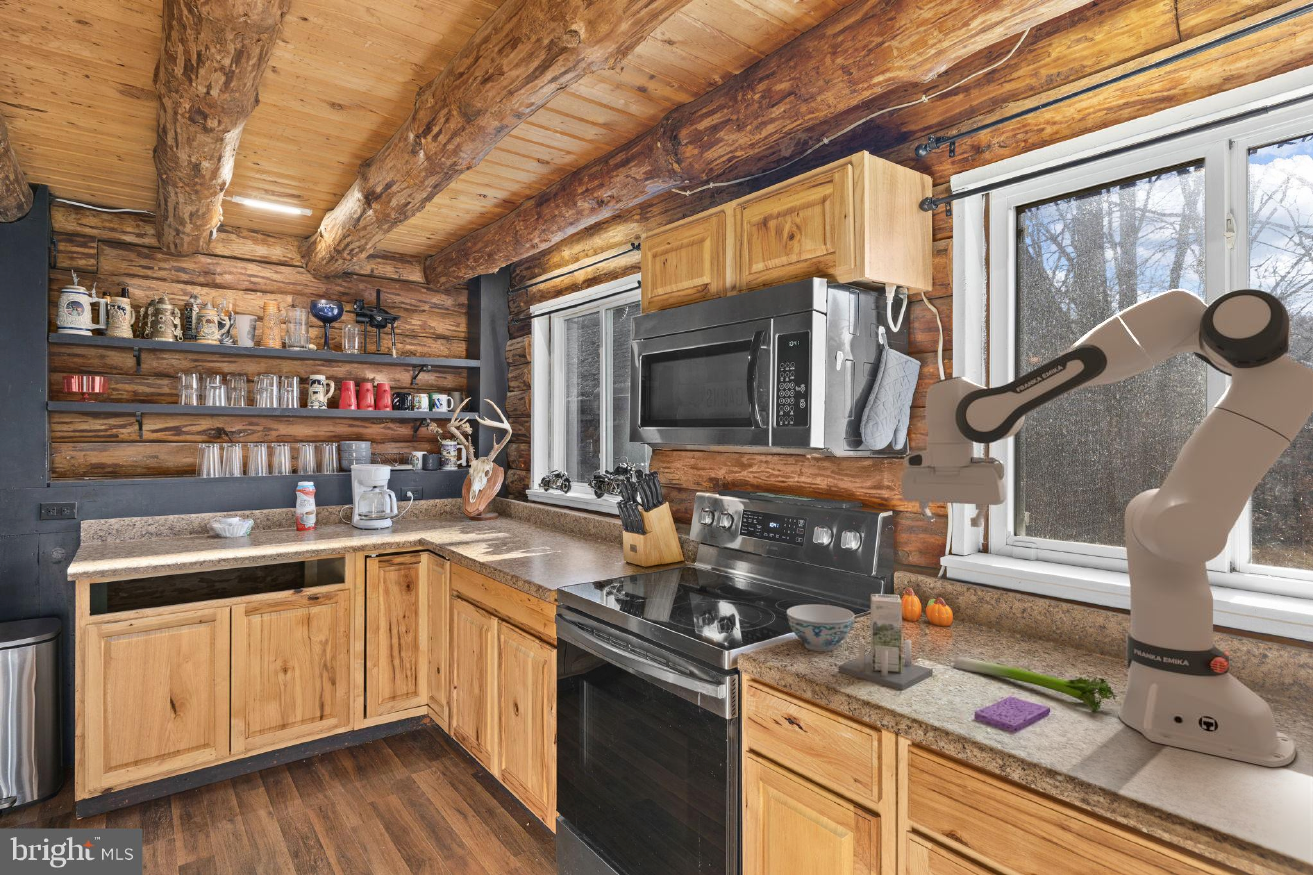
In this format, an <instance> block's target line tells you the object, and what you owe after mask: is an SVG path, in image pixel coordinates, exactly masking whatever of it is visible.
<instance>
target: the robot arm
mask: <svg viewBox="0 0 1313 875" xmlns="http://www.w3.org/2000/svg"><path fill="white" fill-rule="evenodd" d="M1289 316H1290V315H1289V314H1288V311H1287V308H1286V306H1285V305H1284V304H1283V303H1282V301H1281V300H1279V299H1278V298H1277V297H1276V296H1275V295H1274V294H1271V293H1270V292H1266V291H1263V290H1260V289H1255V288H1254V289H1253V288H1242V289H1237V290H1232V291H1229V292H1226V293H1224V294H1222V295H1220V296H1219V297H1217V298H1215V299H1214V300H1213V301H1212V302H1211V303H1210V304H1206V303H1205V302H1204V301H1203V299H1201V297H1200V296H1198V295H1197V294H1195V293H1193V292H1192V291H1189V290H1186V289H1183V288H1176V289H1175V288H1174V289H1170V290H1168V291H1164V292H1161V293H1159V294H1156V295H1155V296H1152V297H1148V298H1147V299H1145V300H1142V301H1140V302H1138V303H1135V304H1134V305H1131V306H1129V307H1128V308H1126V309H1124V310H1122V311H1120V312H1119V313H1116V314H1115V315H1113V316H1111V317H1110V318H1108V319H1106V320H1105V321H1103V322H1102V323H1100V324H1098V325H1097V326H1096V327H1094V328H1093V329H1091V330H1090V331H1089V332H1087V333H1086V334H1085V335H1083V336H1082V337H1080V339H1079V340H1077V341H1076V342H1075V343H1073V344H1072V345H1071V346H1070V347H1068V348H1067V349H1065V350H1064V351H1062V352H1061V354H1059V355H1058V356H1056V357H1054V358H1053V359H1051V360H1050V361H1048V362H1045V363H1044V364H1043V365H1040V366H1039V367H1036V368H1035V369H1033V370H1030V371H1029V372H1027V373H1025V374H1024V375H1022V376H1020V377H1018V378H1016V379H1014V380H1012V381H1010V382H1008V383H1006V384H1003V385H1000V386H996V387H995V386H994V387H986V386H983V385H981V384H978V383H975V382H974V381H971V380H970V379H969V378H967V377H965V376H954V377H948V378H944V379H940V380H937V381H935V382H933V383H932V384H931V385H930V386H929V387H928V389H927V392H926V398H925V424H926V427H927V431H928V433H927V438H926V449H924V450H922V451H919V452H916V453H913V454H910V455H907V456H905V457H904V459H903V464H904V466H905V467H906V468H904V470H903V471H902V474H901V485H900V486H901V497H902V498H903V499H904V501H905V502H914V503H915V502H916V503H918V508H919V509H920V511H921V512H922V514H923V516H924V523H925V524H926V525H934V524H936V514H932V513H931V511H930V509H929V507H931V503H937V504H938V503H939V504H940V503H941V504H942V503H943V504H960V505H961V504H962V505H964V504H965V505H975V510H976V511H977V510H978V511H977V513H976V515H975V516H974V517H970V526H971V528H981V527H982V524H983V523H982V522H983V521H982V518H983V517H984V515H985V513H986V512H987V510H988V506H997V505H998V506H999V505H1003V503H1004V502H1005V501H1006V500H1007V495H1006V494H1007V493H1006V492H1007V491H1006V487H1005V479H1004V477H1005V466H1004V463H1003V462H1002V461H1001V460H999V459H997V457H993V456H992V457H989V456H988V457H981V456H980V457H975V452H974V450H975V449H974V446H975V445H974V443H976V444H983V445H985V444H987V445H988V444H991V443H995V442H997V441H1002V440H1006V439H1008V438H1011V437H1013V436H1015V435H1016V434H1017V433H1018V432H1019V431H1020V430H1021V429H1022V427H1023V426H1024V425H1025V421H1026V414H1027V415H1028V413H1030V412H1032V411H1034V410H1036V409H1039V408H1040V407H1042V406H1044V405H1046V404H1048V403H1050V402H1052V401H1054V400H1056V399H1058V398H1060V397H1061V396H1063V395H1065V394H1068V393H1070V392H1073V391H1076V390H1079V389H1082V388H1083V389H1084V388H1087V387H1094V386H1101V385H1109V384H1114V383H1117V382H1120V381H1123V380H1126V379H1129V378H1131V377H1134V376H1137V375H1139V374H1141V373H1143V372H1145V371H1147V370H1150V369H1152V368H1153V367H1156V366H1158V364H1161V363H1163V362H1164V361H1166V360H1168V359H1170V358H1172V357H1175V356H1178V355H1179V354H1180V355H1181V354H1183V353H1190V352H1191V353H1193V355H1194V356H1195V357H1196V358H1198V359H1199V360H1201V361H1202V362H1204V363H1206V364H1207V365H1209V366H1210V367H1211V368H1213V369H1214V370H1216V371H1217V372H1219V373H1222V374H1223V375H1226V376H1229V377H1231V380H1230V382H1229V385H1228V387H1227V388H1226V390H1225V391H1224V393H1223V395H1222V396H1221V397H1220V399H1219V400H1218V401H1217V402H1216V404H1215V405H1214V406H1213V407H1212V408H1211V409H1210V411H1209V412H1208V413H1207V415H1206V416H1205V417H1204V419H1202V421H1201V423H1199V425H1198V426H1197V428H1196V429H1195V430H1194V432H1193V433H1192V434H1191V435H1190V437H1189V438H1188V439H1187V440H1186V442H1185V443H1184V445H1183V446H1182V447H1181V449H1180V451H1179V454H1178V456H1177V459H1176V460H1175V462H1174V464H1173V466H1172V467H1171V470H1169V472H1168V475H1167V477H1166V478H1165V480H1164V482H1163V483H1162V485H1161V487H1159V488H1152V489H1147V490H1145V491H1142V492H1140V493H1139V494H1138V495H1135V496H1134V497H1133V498H1132V499H1131V500H1130V501H1129V503H1128V504H1127V505H1126V506H1127V507H1126V509H1125V511H1124V529H1125V530H1124V532H1125V533H1124V534H1125V545H1126V546H1125V547H1126V548H1125V549H1126V558H1127V568H1128V570H1127V571H1128V578H1129V585H1130V586H1129V587H1130V588H1129V589H1130V633H1129V634H1128V635H1127V641H1126V646H1125V647H1126V648H1125V650H1126V655H1125V657H1126V659H1125V660H1126V664H1127V665H1126V666H1127V668H1128V674H1127V682H1126V686H1125V687H1126V688H1125V691H1124V697H1123V700H1122V704H1121V705H1120V706H1121V707H1120V709H1119V711H1118V714H1117V715H1118V718H1119V719H1120V721H1122V722H1123V723H1125V724H1126V725H1127V726H1129V727H1130V728H1133V729H1135V730H1136V731H1138V732H1140V733H1141V734H1142V735H1143V736H1144V737H1145V738H1146V739H1148V740H1149V741H1151V742H1154V743H1156V744H1162V745H1167V746H1171V747H1175V748H1180V749H1185V750H1190V751H1195V752H1199V753H1205V754H1208V755H1213V756H1218V757H1222V758H1226V759H1232V760H1235V761H1240V762H1244V763H1245V762H1246V763H1250V764H1255V765H1258V766H1259V765H1260V766H1264V767H1269V768H1270V767H1271V768H1277V767H1283V766H1286V765H1289V764H1290V763H1292V762H1293V761H1294V759H1295V758H1296V753H1297V752H1296V744H1295V742H1294V741H1293V740H1292V739H1291V738H1290V737H1289V736H1287V735H1286V734H1285V733H1282V732H1280V731H1277V726H1276V721H1275V718H1274V715H1273V712H1272V710H1271V708H1270V705H1269V704H1268V703H1267V702H1266V700H1265V699H1263V698H1262V697H1260V696H1259V695H1258V694H1256V693H1255V692H1254V691H1252V690H1251V689H1250V688H1249V687H1248V686H1246V685H1245V684H1243V683H1242V682H1241V681H1240V680H1238V678H1236V677H1235V676H1233V675H1231V673H1229V671H1230V658H1229V655H1230V653H1229V651H1228V650H1226V651H1225V652H1224V651H1222V650H1221V649H1219V648H1218V647H1216V646H1215V645H1214V597H1213V592H1212V590H1211V586H1210V581H1209V576H1208V571H1207V570H1208V569H1207V563H1206V562H1209V561H1212V560H1214V559H1215V558H1217V557H1218V556H1219V555H1220V554H1221V553H1222V552H1223V551H1224V550H1225V547H1226V545H1227V542H1228V539H1229V535H1230V533H1231V531H1232V530H1233V528H1234V526H1235V524H1236V523H1237V521H1238V520H1239V518H1240V516H1241V514H1242V513H1243V510H1244V509H1245V506H1246V505H1247V502H1248V501H1249V499H1250V498H1251V496H1252V494H1253V492H1254V490H1255V489H1256V488H1257V486H1258V485H1259V483H1260V481H1261V480H1262V479H1263V478H1264V476H1265V475H1266V474H1267V473H1268V472H1269V470H1270V469H1271V468H1272V467H1273V465H1274V464H1275V463H1276V462H1277V460H1278V459H1279V458H1280V456H1281V455H1283V453H1284V452H1285V450H1287V448H1288V447H1289V446H1290V444H1291V443H1292V442H1293V441H1294V439H1295V438H1296V437H1297V436H1298V434H1299V433H1300V432H1301V431H1302V429H1303V427H1304V426H1305V424H1306V423H1307V421H1308V419H1309V418H1310V416H1311V414H1312V412H1313V370H1312V369H1311V368H1309V367H1308V366H1306V365H1304V364H1302V363H1299V362H1297V361H1294V360H1293V359H1291V358H1290V357H1289V356H1288V352H1289V347H1290V339H1291V334H1292V331H1291V322H1290V317H1289Z"/></svg>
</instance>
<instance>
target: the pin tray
mask: <svg viewBox="0 0 1313 875" xmlns="http://www.w3.org/2000/svg"><path fill="white" fill-rule="evenodd" d="M837 667H838V672H839V673H842V674H845V675H848V676H852V677H855V678H859V679H862V680H864V681H865V680H866V681H868V682H871V683H876V684H879V685H882V686H886V687H889V688H892V689H896V690H900V691H904V690H907V689H909V688H911V687H913V686H914V685H916V684H919V683H920V682H922V681H924V680H926V679H929V678H930V677H932V676H933V671H934V670H933V668H929V667H925V666H921V665H918V664H914V663H912V640H909V639H905V640H904V661H903V660H902V672H901V673H895V672H888V651H887V650H881V671H872V665H871V652H869V653H867V654H866V645H865V644H863V643H858V657H856V658H853V659H852V660H850V661H847V662H845V663H842V664H839V665H838V666H837Z"/></svg>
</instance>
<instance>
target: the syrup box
mask: <svg viewBox="0 0 1313 875" xmlns="http://www.w3.org/2000/svg"><path fill="white" fill-rule="evenodd" d="M900 596H901V595H899V594H898V595H897V594H883V593H882V594H881V593H871V594H870V653H871V665H872V671H881V650H887V651H888V672H895V673H901V672H902V661H903V660H902V658H903V657H902V656H903V651H902V650H903V649H902V648H903V647H902V646H903V642H902V641H903V603H902V601H901V597H900Z"/></svg>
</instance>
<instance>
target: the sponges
mask: <svg viewBox="0 0 1313 875" xmlns="http://www.w3.org/2000/svg"><path fill="white" fill-rule="evenodd" d="M1050 713H1051V707H1050V706H1048V705H1043V704H1038V703H1035V702H1030V701H1027V700H1023V699H1020V698H1018V697H1014V696H1012V695H1010V696H1006V697H1005V698H1003V699H1001V700H999V701H997V702H994V703H992V704H991V705H987V706H985V707H982V708H979V709H977V710H975V711H974V717H973V719H974V720H975V719H976V721H978V720H979V721H978V722H981V723H984V722H985V723H984V724H987V725H990V726H994V727H995V728H999V729H1001V730H1005V731H1007V730H1008V731H1009V732H1010V733H1015V734H1016V733H1017V732H1020V731H1021V730H1023V729H1025V728H1027V727H1028V726H1030V725H1032V724H1035V723H1036V722H1038V721H1040V720H1042V719H1044V718H1047V717H1048V716H1049V715H1050Z"/></svg>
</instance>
